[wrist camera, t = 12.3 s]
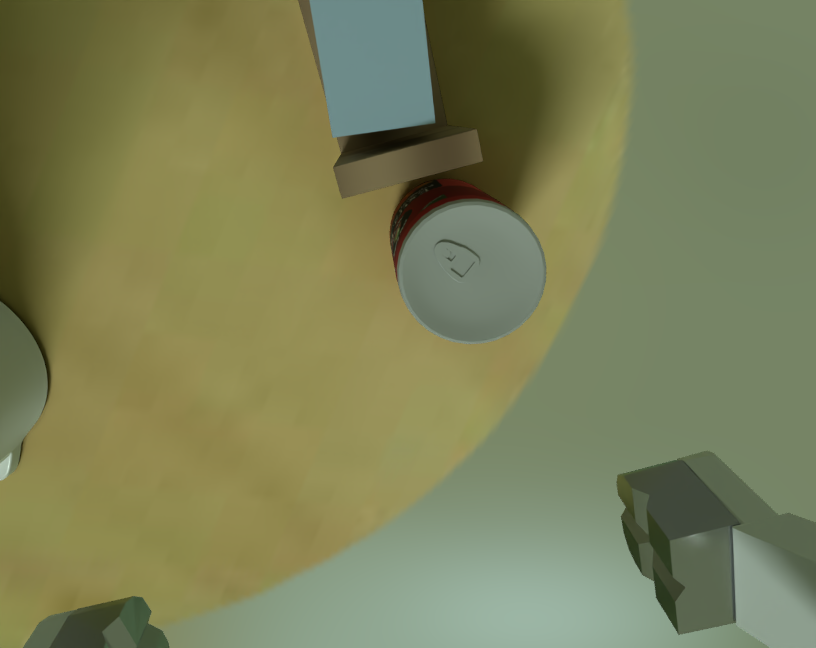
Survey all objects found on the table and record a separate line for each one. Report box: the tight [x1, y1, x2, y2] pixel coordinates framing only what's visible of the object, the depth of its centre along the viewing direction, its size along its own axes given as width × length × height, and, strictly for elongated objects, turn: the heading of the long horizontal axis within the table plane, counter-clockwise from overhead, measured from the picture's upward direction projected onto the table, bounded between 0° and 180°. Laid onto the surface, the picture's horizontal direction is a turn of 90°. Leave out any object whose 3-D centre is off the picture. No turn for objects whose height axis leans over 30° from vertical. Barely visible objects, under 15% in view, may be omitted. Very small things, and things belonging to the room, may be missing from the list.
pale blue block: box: [309, 0, 435, 138], centre depth 28 cm, size 12×5×6 cm, turn 7°
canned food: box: [390, 179, 546, 344], centre depth 34 cm, size 8×8×11 cm
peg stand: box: [298, 0, 483, 199], centre depth 29 cm, size 7×17×11 cm, turn 14°
